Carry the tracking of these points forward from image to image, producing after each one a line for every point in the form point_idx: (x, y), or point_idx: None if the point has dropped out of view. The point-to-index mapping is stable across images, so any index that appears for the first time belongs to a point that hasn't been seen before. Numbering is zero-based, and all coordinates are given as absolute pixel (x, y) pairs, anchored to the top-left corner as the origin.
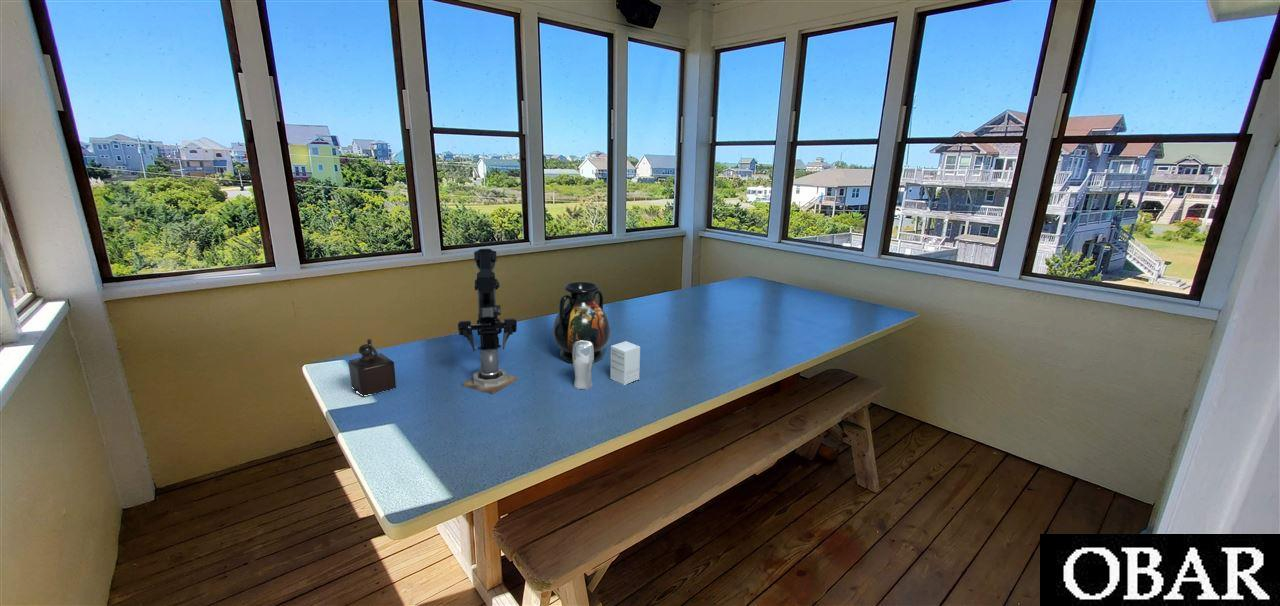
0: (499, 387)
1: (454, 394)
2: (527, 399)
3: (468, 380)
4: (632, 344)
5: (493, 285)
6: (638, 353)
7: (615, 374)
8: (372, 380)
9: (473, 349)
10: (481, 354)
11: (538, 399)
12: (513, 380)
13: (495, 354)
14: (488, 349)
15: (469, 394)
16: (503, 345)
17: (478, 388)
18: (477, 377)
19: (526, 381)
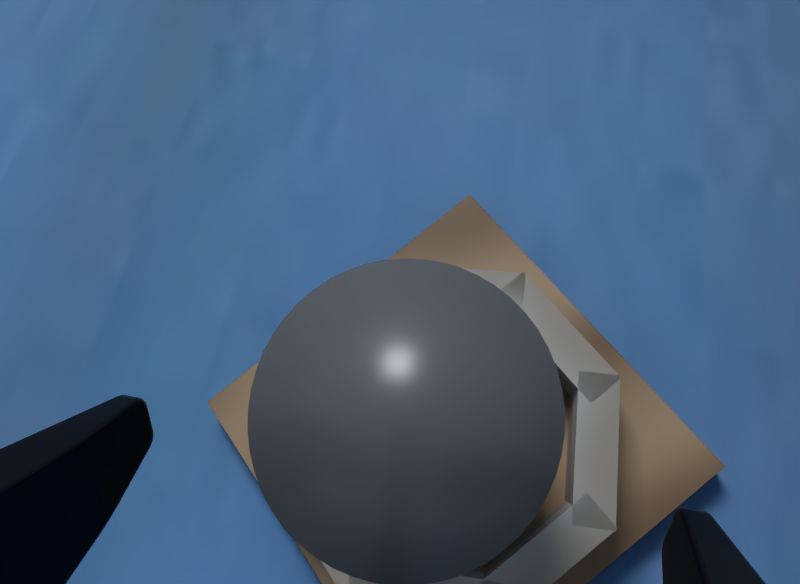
0: (400, 250)
1: (791, 302)
2: (263, 59)
3: (659, 507)
4: None
5: None
6: None
7: None
8: None
9: (710, 518)
10: (545, 348)
11: (202, 41)
12: (254, 370)
13: (320, 295)
14: (382, 545)
15: (655, 259)
16: (91, 417)
17: (573, 308)
18: (579, 398)
19: (165, 346)
